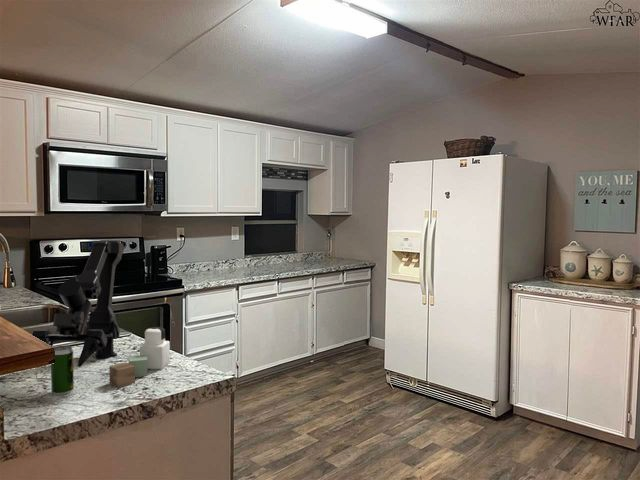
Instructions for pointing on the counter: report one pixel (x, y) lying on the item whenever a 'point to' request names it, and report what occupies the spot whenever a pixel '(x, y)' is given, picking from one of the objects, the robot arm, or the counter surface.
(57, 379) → the beer can
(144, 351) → the medicine bottle
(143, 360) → the sage block
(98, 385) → the counter surface
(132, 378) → the walnut block
